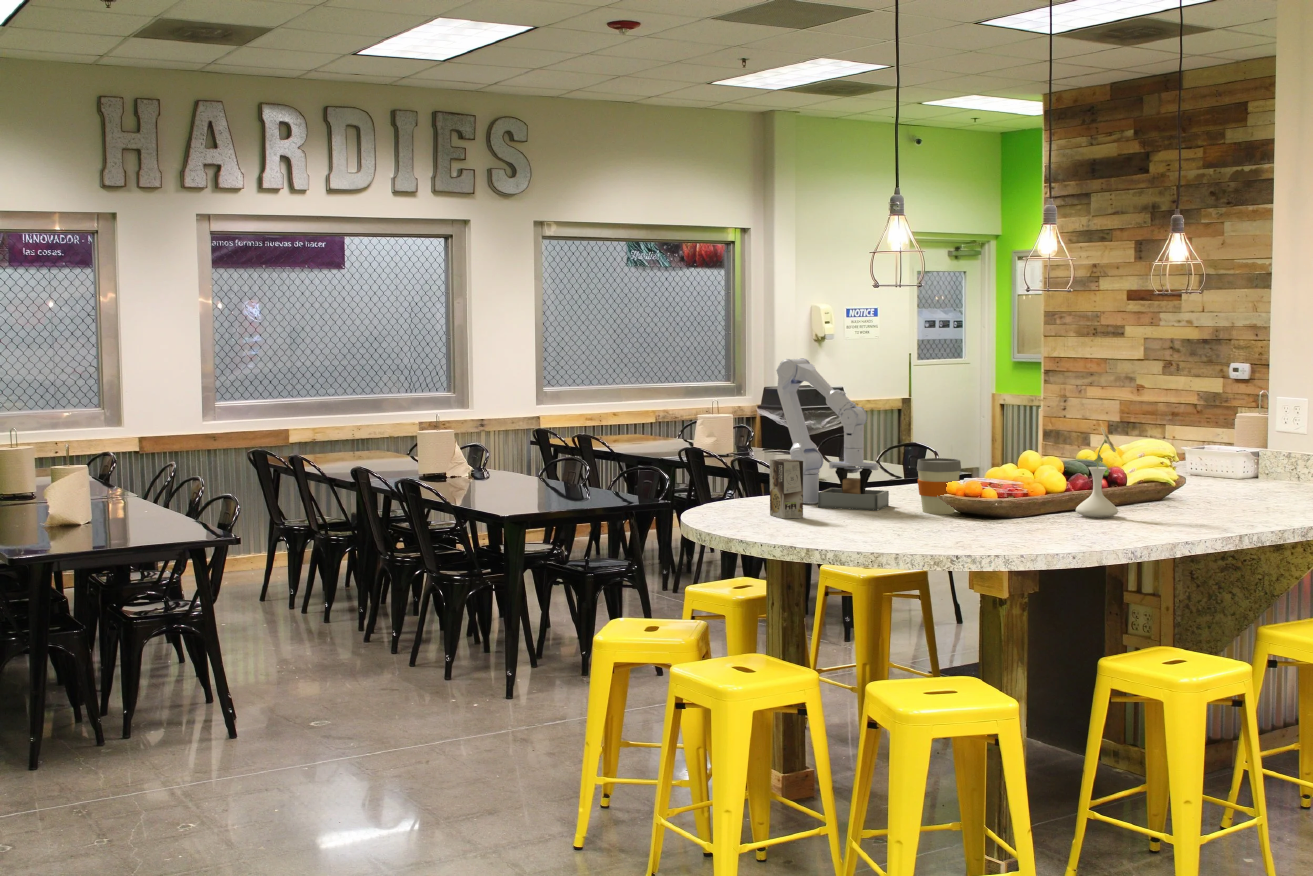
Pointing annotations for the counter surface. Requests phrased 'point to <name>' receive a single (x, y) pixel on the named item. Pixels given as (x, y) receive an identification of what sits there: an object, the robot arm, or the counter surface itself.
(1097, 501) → the flower in vase
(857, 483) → the walnut block
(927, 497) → the reusable coffee cup
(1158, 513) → the counter surface
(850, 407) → the robot arm
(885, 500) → the slate bin
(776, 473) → the coffee box
